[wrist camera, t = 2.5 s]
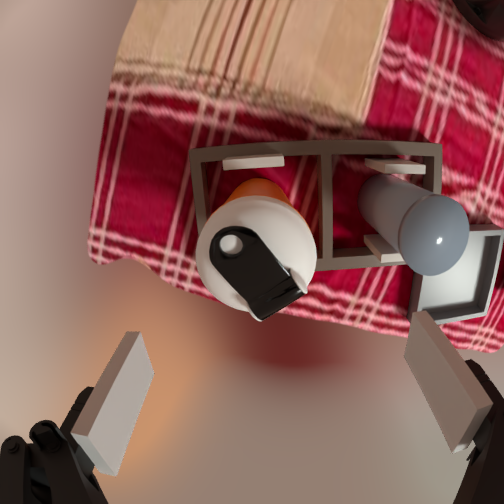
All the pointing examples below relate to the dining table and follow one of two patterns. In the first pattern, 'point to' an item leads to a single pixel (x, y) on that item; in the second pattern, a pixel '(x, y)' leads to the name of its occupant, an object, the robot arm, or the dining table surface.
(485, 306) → the tray
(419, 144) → the rack
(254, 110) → the dining table surface
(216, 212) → the shaker bottle
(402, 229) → the canister
